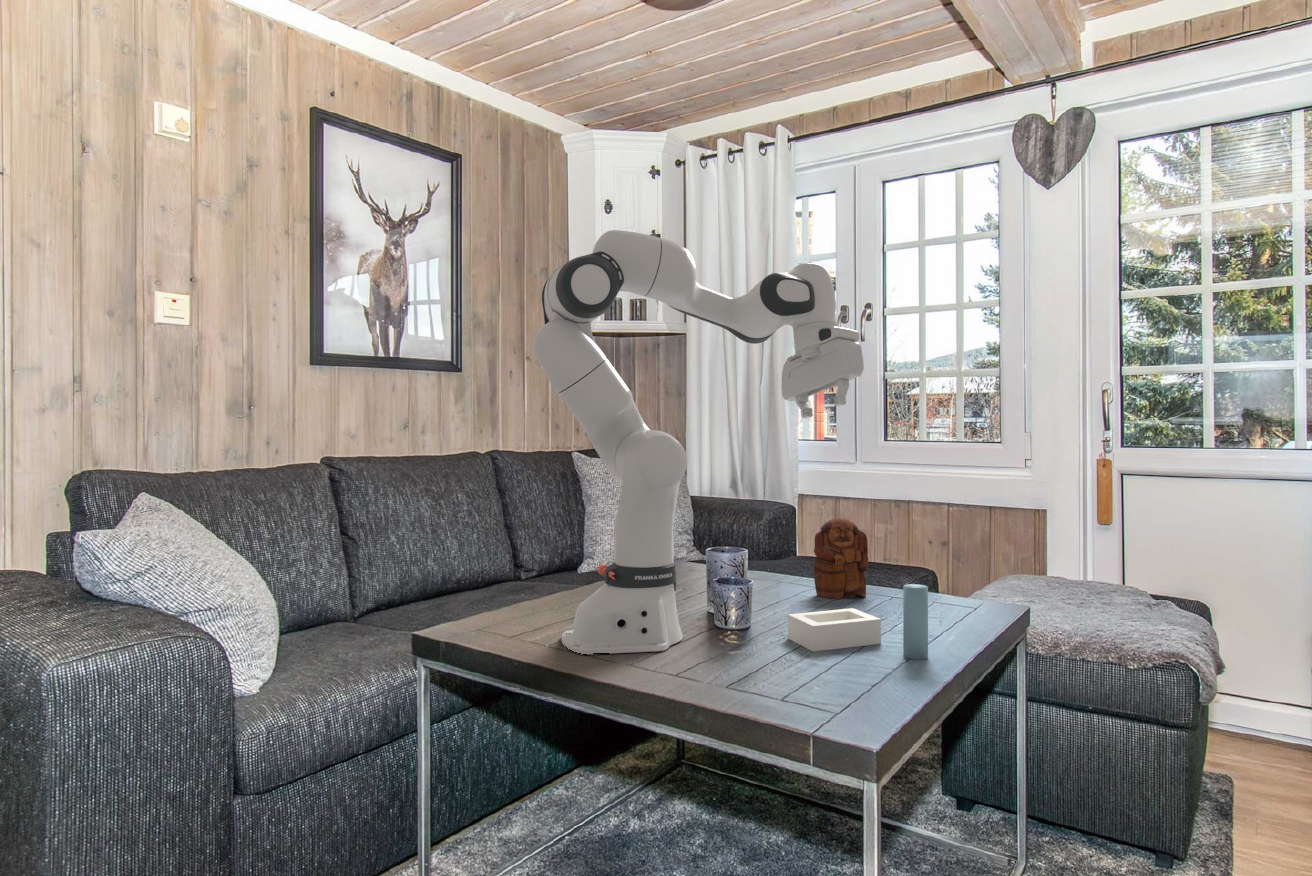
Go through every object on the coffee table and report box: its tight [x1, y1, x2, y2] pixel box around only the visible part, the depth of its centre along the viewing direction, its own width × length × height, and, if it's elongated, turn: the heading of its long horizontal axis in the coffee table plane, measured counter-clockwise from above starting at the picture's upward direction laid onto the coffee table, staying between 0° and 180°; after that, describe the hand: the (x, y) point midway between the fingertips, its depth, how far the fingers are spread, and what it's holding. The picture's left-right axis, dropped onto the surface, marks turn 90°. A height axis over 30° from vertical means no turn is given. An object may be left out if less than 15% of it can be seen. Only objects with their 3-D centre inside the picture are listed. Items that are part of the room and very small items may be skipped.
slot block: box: [787, 607, 882, 653], centre depth 144 cm, size 14×9×4 cm, turn 109°
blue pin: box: [902, 583, 929, 661], centre depth 134 cm, size 4×4×12 cm
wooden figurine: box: [813, 518, 869, 600], centre depth 182 cm, size 12×6×18 cm, turn 97°
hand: (823, 411), depth 152 cm, fingers open, 8 cm apart
